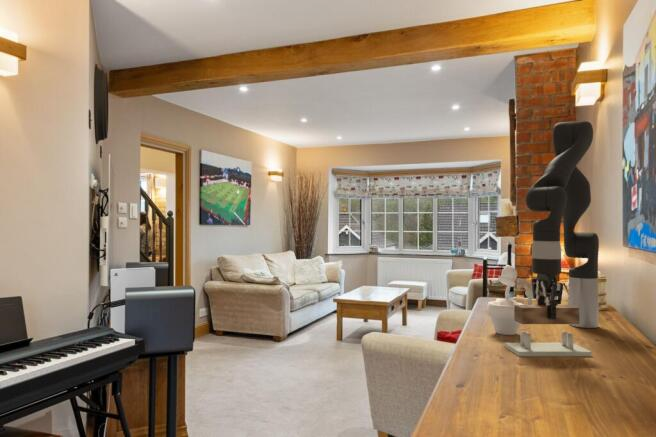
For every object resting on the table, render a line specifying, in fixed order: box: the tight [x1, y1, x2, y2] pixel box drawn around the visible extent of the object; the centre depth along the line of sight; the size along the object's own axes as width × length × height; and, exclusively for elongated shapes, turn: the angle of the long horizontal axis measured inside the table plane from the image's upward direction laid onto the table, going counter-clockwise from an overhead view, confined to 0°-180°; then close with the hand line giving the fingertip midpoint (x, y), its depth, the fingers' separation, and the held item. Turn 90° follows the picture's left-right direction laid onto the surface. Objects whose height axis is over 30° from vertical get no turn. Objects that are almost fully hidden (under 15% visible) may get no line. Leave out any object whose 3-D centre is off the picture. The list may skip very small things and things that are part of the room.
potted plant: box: [486, 261, 525, 336], centre depth 154 cm, size 13×12×25 cm
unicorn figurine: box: [514, 278, 551, 305], centre depth 193 cm, size 7×20×13 cm, turn 51°
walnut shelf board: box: [514, 304, 579, 325], centre depth 132 cm, size 16×5×4 cm, turn 91°
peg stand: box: [503, 330, 593, 357], centre depth 132 cm, size 10×20×5 cm, turn 91°
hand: (546, 316), depth 132 cm, fingers closed on walnut shelf board, 5 cm apart
